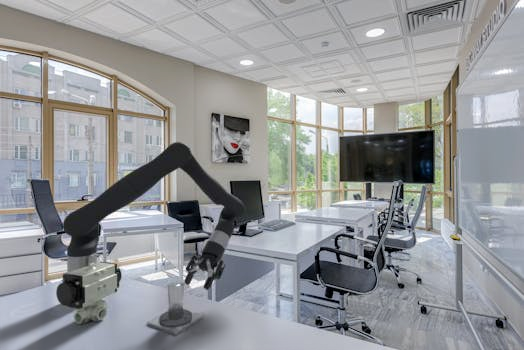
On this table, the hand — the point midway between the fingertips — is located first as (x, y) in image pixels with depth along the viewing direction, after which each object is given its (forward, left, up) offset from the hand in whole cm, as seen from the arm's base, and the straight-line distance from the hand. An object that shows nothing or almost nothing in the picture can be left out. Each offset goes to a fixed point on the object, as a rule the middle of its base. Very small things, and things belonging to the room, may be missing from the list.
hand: (195, 286), depth 102 cm
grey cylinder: (0, -9, -7) cm, 11 cm away
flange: (0, -9, -8) cm, 12 cm away
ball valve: (-24, -21, -8) cm, 33 cm away
